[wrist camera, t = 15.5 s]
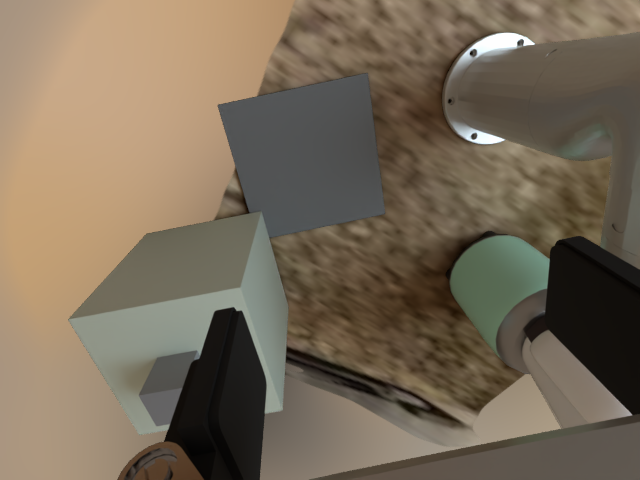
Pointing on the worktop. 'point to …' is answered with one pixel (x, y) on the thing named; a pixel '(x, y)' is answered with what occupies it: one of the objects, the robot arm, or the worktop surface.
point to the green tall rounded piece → (526, 325)
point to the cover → (183, 312)
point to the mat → (307, 154)
